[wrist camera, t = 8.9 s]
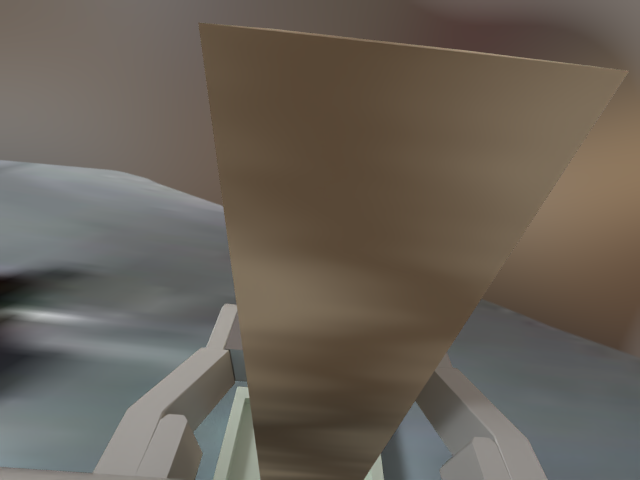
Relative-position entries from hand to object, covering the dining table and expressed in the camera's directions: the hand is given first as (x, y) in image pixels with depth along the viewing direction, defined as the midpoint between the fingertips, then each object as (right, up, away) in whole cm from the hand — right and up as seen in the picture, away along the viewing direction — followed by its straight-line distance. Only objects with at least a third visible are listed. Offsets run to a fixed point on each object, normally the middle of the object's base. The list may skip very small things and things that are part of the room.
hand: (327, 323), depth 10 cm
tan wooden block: (-1, -9, +5) cm, 10 cm away
